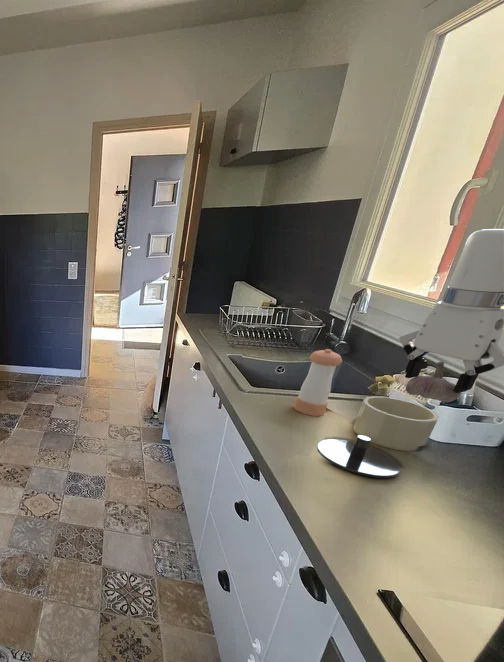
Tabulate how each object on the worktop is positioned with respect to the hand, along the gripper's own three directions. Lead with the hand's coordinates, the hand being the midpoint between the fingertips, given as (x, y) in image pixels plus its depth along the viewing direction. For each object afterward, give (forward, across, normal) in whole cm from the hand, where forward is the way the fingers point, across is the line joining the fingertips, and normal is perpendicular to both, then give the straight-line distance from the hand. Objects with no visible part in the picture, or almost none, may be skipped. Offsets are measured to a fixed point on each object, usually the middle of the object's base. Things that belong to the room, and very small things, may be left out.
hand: (434, 383), depth 79 cm
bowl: (+21, +10, -14) cm, 28 cm away
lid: (+21, +5, +5) cm, 22 cm away
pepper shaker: (+22, +27, -9) cm, 36 cm away
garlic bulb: (+3, 0, 0) cm, 3 cm away
